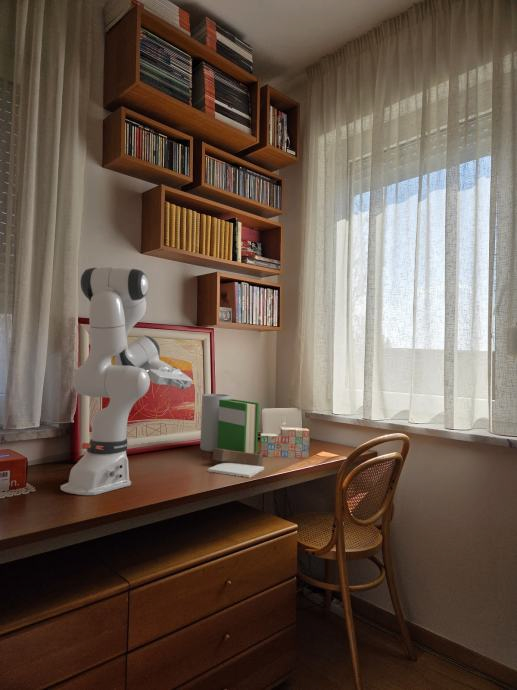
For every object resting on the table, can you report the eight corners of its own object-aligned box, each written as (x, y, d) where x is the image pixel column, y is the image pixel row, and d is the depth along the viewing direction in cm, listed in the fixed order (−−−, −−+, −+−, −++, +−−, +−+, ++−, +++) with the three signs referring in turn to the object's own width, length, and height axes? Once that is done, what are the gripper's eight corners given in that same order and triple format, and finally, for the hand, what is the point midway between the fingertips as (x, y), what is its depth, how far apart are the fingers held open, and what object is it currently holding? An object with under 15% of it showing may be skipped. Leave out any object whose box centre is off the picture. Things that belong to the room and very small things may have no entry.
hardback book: (256, 460, 193) (258, 403, 193) (243, 462, 188) (245, 403, 188) (230, 452, 206) (232, 399, 206) (217, 454, 201) (219, 399, 201)
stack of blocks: (260, 456, 200) (261, 428, 200) (259, 453, 206) (260, 426, 206) (308, 458, 200) (309, 430, 201) (306, 455, 207) (307, 427, 207)
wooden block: (211, 459, 180) (254, 465, 174) (213, 447, 181) (256, 453, 175) (220, 460, 188) (261, 466, 182) (221, 449, 189) (263, 454, 184)
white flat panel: (249, 477, 165) (249, 474, 165) (207, 471, 171) (207, 468, 171) (264, 469, 177) (264, 466, 177) (224, 463, 184) (224, 461, 184)
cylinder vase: (226, 452, 205) (228, 396, 205) (198, 451, 205) (200, 395, 205) (228, 447, 217) (230, 394, 218) (201, 446, 217) (203, 393, 218)
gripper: (144, 362, 179) (167, 377, 171) (180, 368, 196) (202, 382, 188) (138, 377, 180) (160, 392, 172) (175, 382, 197) (196, 396, 189)
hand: (182, 387), depth 180 cm, fingers closed
